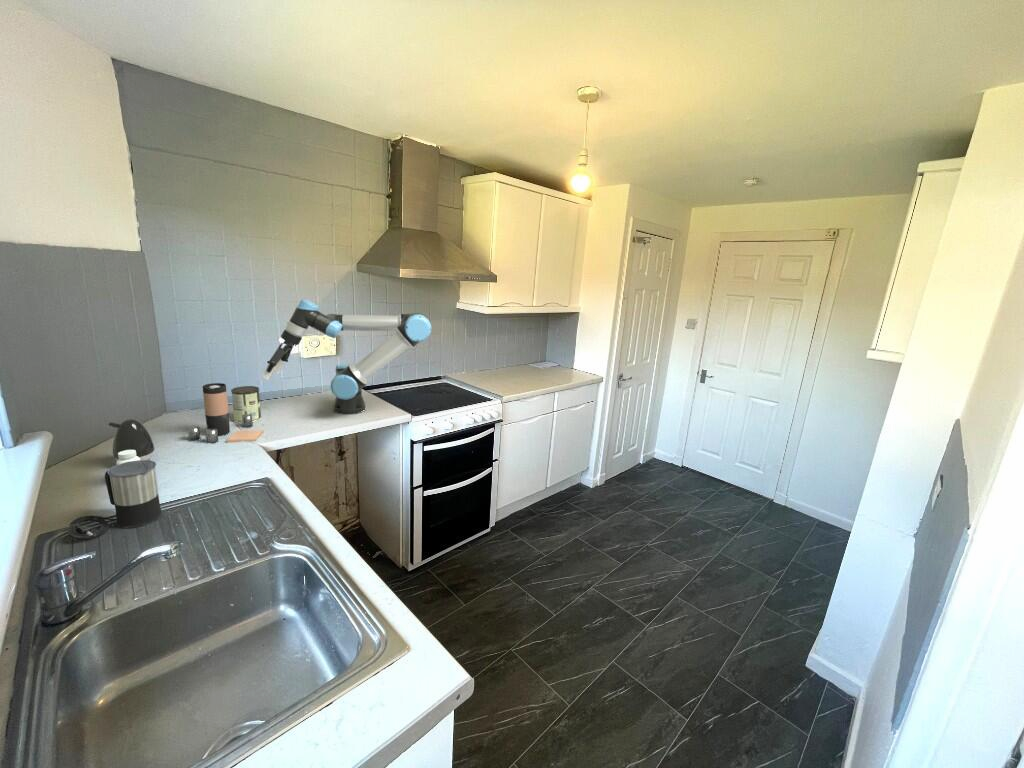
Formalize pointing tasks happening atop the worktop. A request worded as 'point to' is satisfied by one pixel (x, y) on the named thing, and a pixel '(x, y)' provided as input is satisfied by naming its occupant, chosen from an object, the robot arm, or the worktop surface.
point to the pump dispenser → (132, 439)
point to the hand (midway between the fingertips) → (270, 375)
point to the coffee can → (246, 402)
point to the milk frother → (126, 499)
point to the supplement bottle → (127, 456)
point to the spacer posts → (215, 430)
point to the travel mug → (216, 407)
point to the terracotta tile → (245, 436)
